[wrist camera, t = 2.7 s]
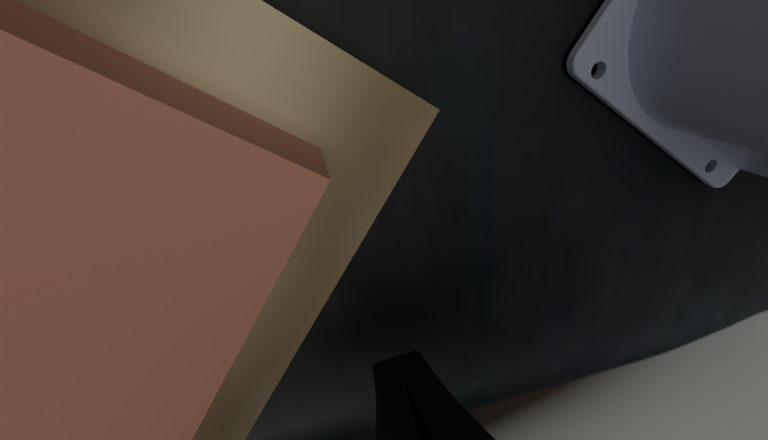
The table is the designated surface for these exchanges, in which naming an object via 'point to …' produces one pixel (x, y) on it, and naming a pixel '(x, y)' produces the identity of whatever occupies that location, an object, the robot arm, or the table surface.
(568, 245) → the table surface
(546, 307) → the table surface
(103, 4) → the wooden block
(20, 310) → the salmon orange slab
